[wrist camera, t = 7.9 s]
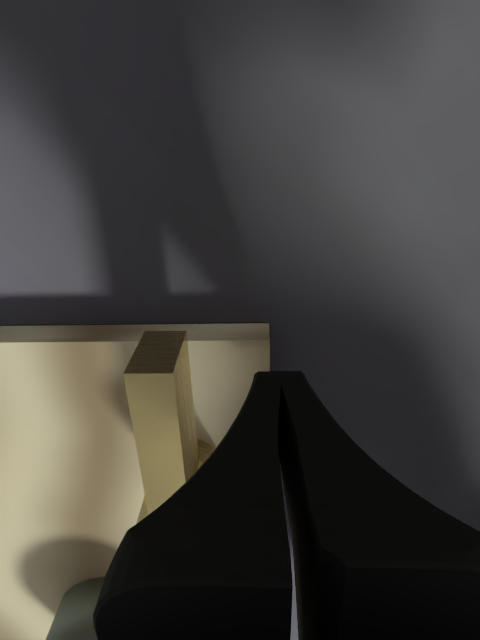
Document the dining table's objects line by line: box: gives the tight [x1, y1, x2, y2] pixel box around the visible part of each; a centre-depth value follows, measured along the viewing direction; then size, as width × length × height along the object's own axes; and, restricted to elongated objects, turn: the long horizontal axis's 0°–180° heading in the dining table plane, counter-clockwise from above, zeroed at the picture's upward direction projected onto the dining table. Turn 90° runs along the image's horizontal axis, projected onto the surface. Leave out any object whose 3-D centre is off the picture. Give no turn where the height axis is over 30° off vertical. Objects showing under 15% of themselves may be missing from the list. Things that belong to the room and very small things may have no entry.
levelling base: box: [0, 323, 270, 640], centre depth 17 cm, size 14×20×5 cm
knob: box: [123, 331, 214, 524], centre depth 13 cm, size 2×7×3 cm, turn 2°
